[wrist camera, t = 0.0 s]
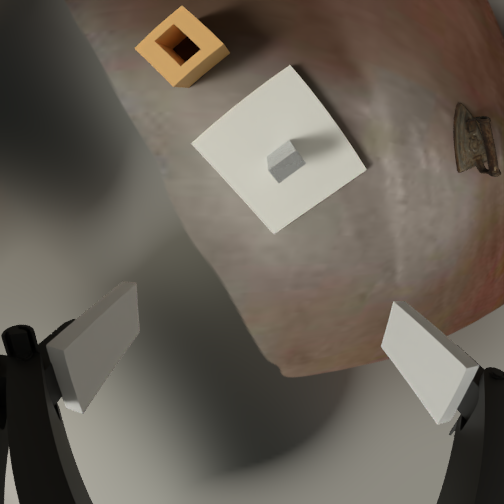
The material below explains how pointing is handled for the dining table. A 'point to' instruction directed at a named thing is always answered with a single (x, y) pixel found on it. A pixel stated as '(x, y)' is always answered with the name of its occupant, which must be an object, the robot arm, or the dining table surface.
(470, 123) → the clothes iron
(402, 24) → the dining table surface
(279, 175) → the steel shaft
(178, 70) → the hollow tan cube
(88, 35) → the dining table surface
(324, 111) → the base plate
